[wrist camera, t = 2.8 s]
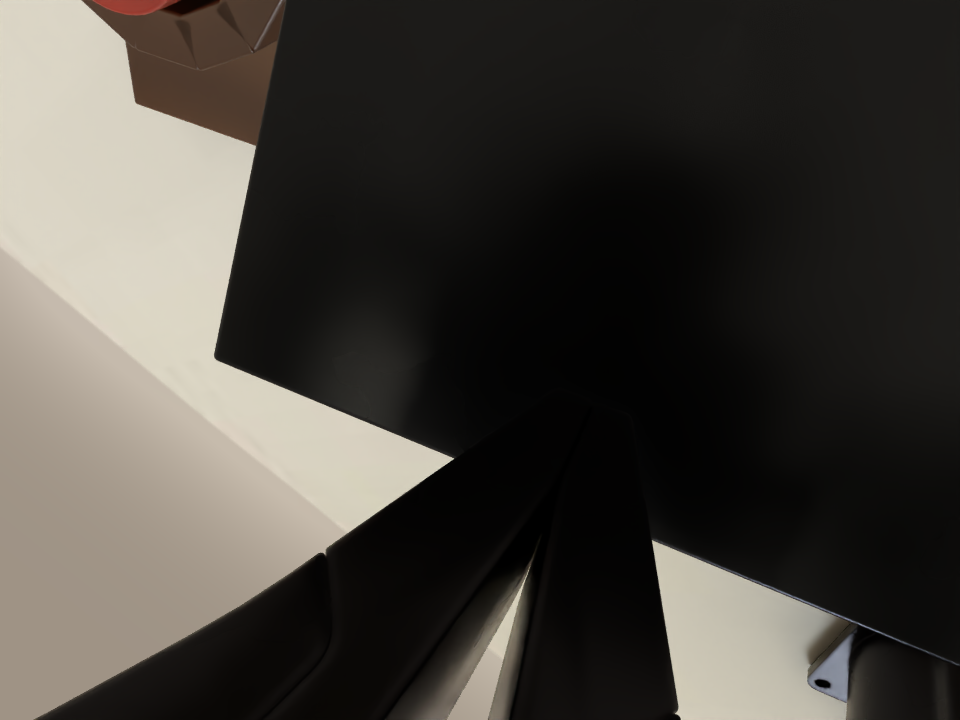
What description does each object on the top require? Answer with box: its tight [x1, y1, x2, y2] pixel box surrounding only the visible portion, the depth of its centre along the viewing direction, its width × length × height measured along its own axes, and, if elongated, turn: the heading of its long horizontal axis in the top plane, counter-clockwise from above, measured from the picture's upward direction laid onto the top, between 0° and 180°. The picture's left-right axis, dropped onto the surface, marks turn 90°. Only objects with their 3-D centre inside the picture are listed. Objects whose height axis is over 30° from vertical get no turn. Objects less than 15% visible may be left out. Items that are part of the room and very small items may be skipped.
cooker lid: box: [214, 0, 960, 667], centre depth 9 cm, size 12×11×1 cm
